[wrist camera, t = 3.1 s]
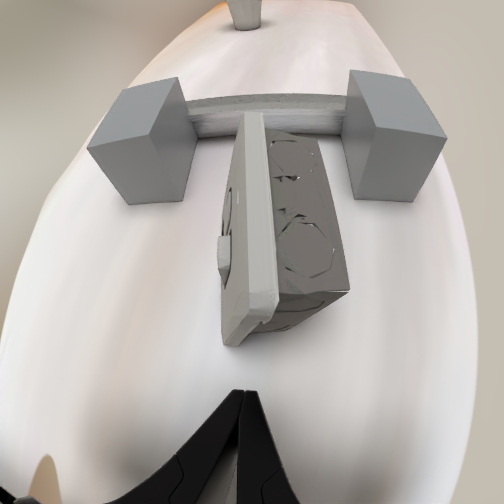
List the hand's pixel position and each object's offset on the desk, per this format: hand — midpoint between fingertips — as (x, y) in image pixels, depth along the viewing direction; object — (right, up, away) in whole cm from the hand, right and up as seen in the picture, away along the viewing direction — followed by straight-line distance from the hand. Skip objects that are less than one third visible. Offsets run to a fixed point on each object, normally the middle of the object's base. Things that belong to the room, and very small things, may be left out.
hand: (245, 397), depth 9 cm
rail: (+2, +16, +15) cm, 22 cm away
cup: (-1, +46, +30) cm, 55 cm away
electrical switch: (+1, +4, +9) cm, 10 cm away
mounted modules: (+1, +12, +13) cm, 18 cm away
